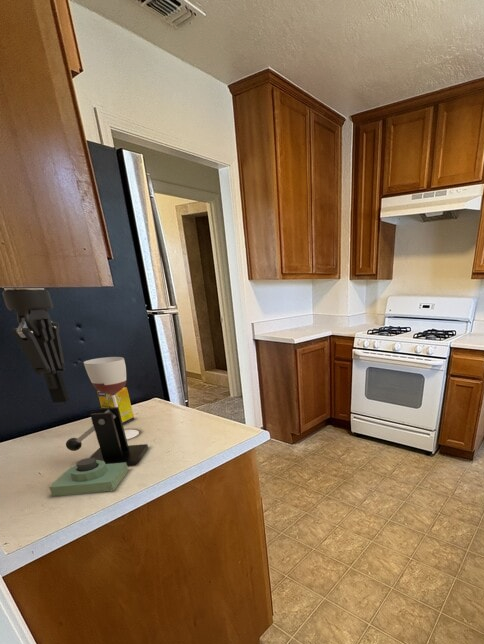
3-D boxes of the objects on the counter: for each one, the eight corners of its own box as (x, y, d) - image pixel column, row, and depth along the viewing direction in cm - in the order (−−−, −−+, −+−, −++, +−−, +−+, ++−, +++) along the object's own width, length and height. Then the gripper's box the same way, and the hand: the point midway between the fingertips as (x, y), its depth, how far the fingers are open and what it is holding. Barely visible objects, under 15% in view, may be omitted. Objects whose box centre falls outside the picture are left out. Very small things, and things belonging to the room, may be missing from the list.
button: (75, 473, 75) (73, 465, 75) (83, 465, 79) (80, 458, 78) (93, 471, 76) (91, 464, 75) (100, 463, 79) (98, 456, 78)
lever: (71, 455, 86) (60, 446, 85) (77, 449, 89) (66, 441, 87) (113, 421, 84) (102, 411, 83) (118, 416, 87) (108, 407, 86)
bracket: (83, 469, 84) (67, 419, 79) (100, 451, 93) (87, 405, 88) (136, 465, 86) (123, 416, 81) (148, 448, 95) (137, 402, 90)
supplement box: (105, 424, 112) (96, 391, 107) (119, 418, 117) (111, 386, 113) (121, 425, 110) (112, 392, 106) (134, 419, 116) (127, 386, 112)
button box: (52, 496, 74) (46, 479, 72) (73, 475, 82) (68, 459, 80) (113, 490, 75) (109, 474, 74) (128, 470, 83) (124, 455, 82)
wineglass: (146, 433, 104) (129, 359, 96) (112, 444, 98) (90, 365, 89) (133, 426, 110) (116, 355, 101) (100, 436, 103) (78, 361, 94)
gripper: (26, 289, 65) (65, 409, 75) (61, 288, 77) (91, 392, 87) (-20, 289, 64) (25, 411, 74) (23, 289, 76) (57, 394, 85)
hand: (61, 401), depth 80 cm, fingers closed
